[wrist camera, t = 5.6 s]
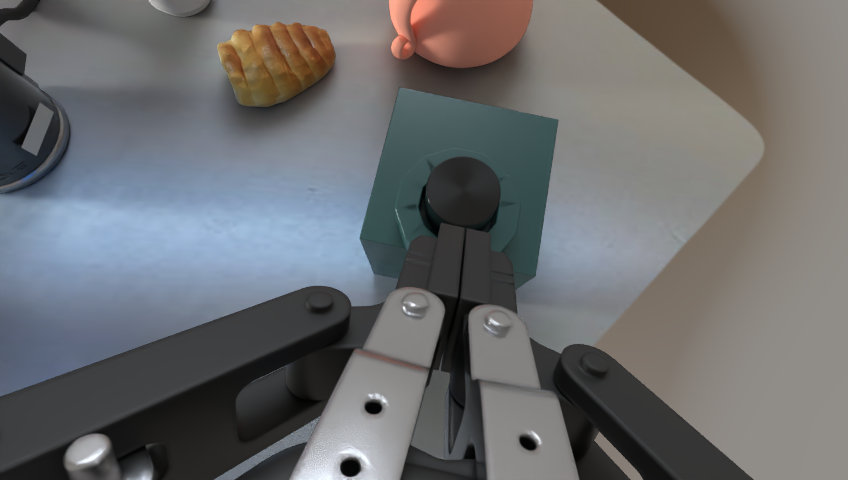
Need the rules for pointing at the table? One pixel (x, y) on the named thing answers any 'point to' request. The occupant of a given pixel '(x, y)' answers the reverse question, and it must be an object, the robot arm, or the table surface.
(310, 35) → the pastry
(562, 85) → the table surface
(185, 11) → the energy drink can
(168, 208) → the table surface
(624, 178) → the table surface
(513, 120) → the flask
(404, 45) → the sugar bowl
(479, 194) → the black knob
